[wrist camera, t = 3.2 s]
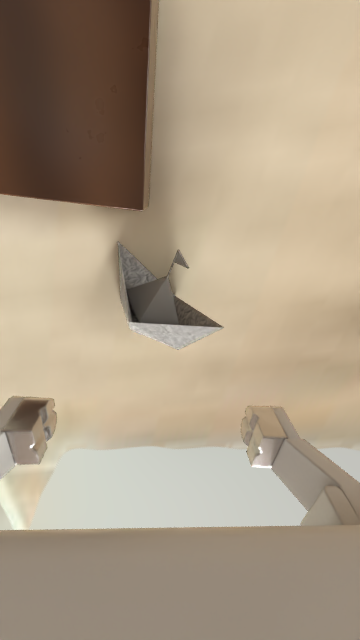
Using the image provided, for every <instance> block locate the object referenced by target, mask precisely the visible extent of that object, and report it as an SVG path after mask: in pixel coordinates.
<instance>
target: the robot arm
mask: <svg viewBox="0 0 360 640" xmlns="http://www.w3.org/2000/svg"><path fill="white" fill-rule="evenodd" d="M54 406H55V403H54V399H52V398H39V397H20V396H12V397H11V398H9V399H8V400H7V402H6V403H5V404H4V406H3V407H2V408H1V410H0V479H2V478H3V477H4V476H5V475H6V474H7V473H8V472H9V471H10V470H11V469H13V468H14V467H15V465H22V464H40V462H41V460H42V458H43V456H44V453H45V451H46V449H47V444H46V441H48V440H49V439H50V438H52V436H53V434H54V431H55V428H56V424H57V414H56V412H55V411H54V410H53V408H54ZM245 414H246V417H245V418H243V419H242V423H241V435H242V439H243V442H244V443H245V444H246V445H247V446H248V448H247V451H246V452H247V455H248V458H249V461H250V464H251V467H271V469H272V470H273V472H274V473H275V474H276V475H277V476H278V477H279V478H280V480H281V481H282V482H283V483H284V484H285V485H286V487H287V488H288V489H289V490H290V491H291V492H292V493H293V495H294V496H295V497H296V498H297V499H298V500H299V502H300V503H301V504H302V505H303V506H304V507H305V509H306V510H307V511H308V512H307V514H306V516H305V517H304V519H303V520H302V522H301V526H260V527H259V526H257V527H255V526H254V527H185V528H121V529H120V528H119V529H61V530H59V529H56V530H0V640H360V483H359V482H358V481H357V480H355V479H354V478H353V477H352V476H350V475H349V474H348V473H346V472H345V471H344V470H343V469H341V468H340V467H339V466H338V465H336V464H335V463H334V462H332V461H331V460H330V459H329V458H327V457H326V456H325V455H324V454H322V453H321V452H320V451H318V450H317V449H316V448H315V447H313V446H312V445H311V444H310V443H308V442H307V441H306V440H304V439H300V437H299V435H298V433H297V432H296V430H295V428H294V426H293V424H292V423H291V421H290V419H289V417H288V416H287V414H286V412H285V410H284V409H283V408H282V407H274V406H270V407H269V406H247V408H246V410H245Z"/></svg>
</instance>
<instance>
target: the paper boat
mask: <svg viewBox="0 0 360 640" xmlns="http://www.w3.org/2000/svg"><path fill="white" fill-rule="evenodd" d="M118 256H119V276H120V296H121V303H122V306H123V310H124V313H125V316H126V320H127V323H128V326H129V329H130V330H133V331H135V332H137V333H140V334H142V335H144V336H147V337H149V338H151V339H154V340H156V341H158V342H161V343H163V344H165V345H168V346H170V347H173V348H175V349H177V350H179V349H181V348H183V347H185V346H187V345H189V344H191V343H194V342H196V341H198V340H200V339H202V338H204V337H206V336H208V335H210V334H212V333H214V332H216V331H218V330H220V329H222V328H224V327H222V326H221V325H219V324H218V323H216V322H215V321H213V320H211V319H210V318H208V317H207V316H205V315H204V314H202V313H201V312H199V311H197V310H196V309H194V308H193V307H191V306H190V305H188V304H187V303H185V302H184V301H182V300H180V299H179V298H177V297H176V296H175V295H174V294H173V293H172V291H171V286H170V282H169V274H170V272H171V270H172V267H173V265H174V262H175V263H177V264H179V265H182V266H184V267H186V268H189V267H188V265H187V263H186V261H185V260H184V258H183V256H182V254H181V252H180V250H178V251H177V253H176V256H175V258H174V260H173V263H172V265H171V268H170V270H169V273H168V275H167V276H166V277H163V278H160V279H157V278H156V277H155V276H154V275H153V274H152V273H151V272H150V271H149V270H147V269H146V268H145V267H144V266H143V265H142V264H141V263H140V262H139V261H138V260H137V259H136V258H135V257H134V256H133V255H132V254H131V253H130V252H129V251H128V250H127V249H125V248H124V247H123V246H122V245H121V244H120V243H119V242H118Z"/></svg>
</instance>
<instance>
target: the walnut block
mask: <svg viewBox="0 0 360 640" xmlns="http://www.w3.org/2000/svg"><path fill="white" fill-rule="evenodd" d="M158 8H159V0H0V194H3V195H12V196H20V197H28V198H37V199H45V200H53V201H61V202H70V203H78V204H86V205H95V206H103V207H111V208H120V209H128V210H136V211H143V210H145V209H146V208H147V207H148V206H149V190H150V170H151V150H152V129H153V109H154V89H155V69H156V49H157V28H158Z"/></svg>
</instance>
